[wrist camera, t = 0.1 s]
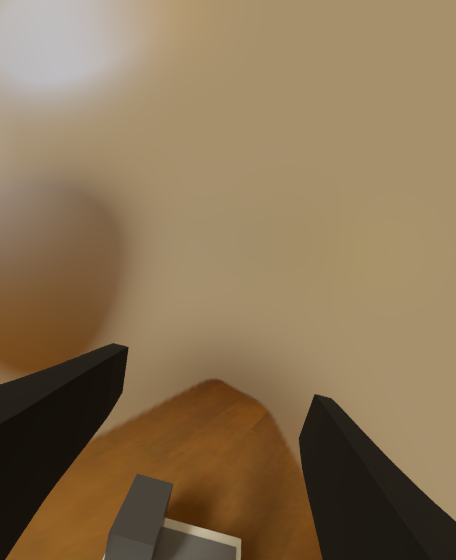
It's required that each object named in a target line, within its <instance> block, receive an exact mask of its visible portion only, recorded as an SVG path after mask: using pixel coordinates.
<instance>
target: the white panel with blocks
mask: <svg viewBox="0 0 456 560" xmlns="http://www.w3.org/2000/svg"><path fill="white" fill-rule="evenodd" d="M172 487H173V484H172V483H169V482H165V481H161V480H158V479H154V478H150V477H146V476H143V475H139V474H137V475H136V477H135V479H134V481H133V483H132V486H131V488H130V490H129V492H128V494H127V496H126V498H125V500H124V502H123V504H122V507H121V509H120V511H119V513H118V515H117V517H116V519H115V521H114V523H113V525H112V528H111V530H110V532H109V535H108V541H107V546H106V552H105V555H104V557H103V559H102V560H241V539H240V538H236V537H233V536H229V535H225V534H222V533H218V532H215V531H211V530H207V529H204V528H200V527H197V526H193V525H189V524H186V523H182V522H179V521H175V520H171V519H168V518H166V514H167V509H168V505H169V500H170V496H171V491H172Z"/></svg>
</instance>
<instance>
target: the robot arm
mask: <svg viewBox="0 0 456 560" xmlns="http://www.w3.org/2000/svg"><path fill="white" fill-rule="evenodd" d="M127 355H128V347H126V346H122V345H118V344H114V343H113V344H110V345H107V346H104V347H101V348H99V349H96V350H94V351H91V352H89V353H86V354H84V355H81V356H79V357H76V358H74V359H71V360H69V361H66V362H64V363H61V364H58V365H56V366H53V367H50V368H47V369H45V370H42V371H39V372H36V373H33V374H30V375H28V376H25V377H22V378H19V379H16V380H13V381H10V382H7V383H4V384H0V560H5V559H6V557H7V556H8V554H9V553H10V551H11V550H12V548H13V547H14V545H15V543H16V542H17V540H18V539H19V537H20V536H21V534H22V533H23V531H24V530H25V528H26V527H27V525H28V524H29V522H30V521H31V519H32V518H33V516H34V515H35V513H36V512H37V510H38V509H39V507H40V506H41V504H42V503H43V501H44V500H45V498H46V497H47V496H48V494H49V493H50V492H51V490H52V489H53V487H54V486H55V485H56V483H57V482H58V481H59V479H60V478H61V477H62V476H63V474H64V473H65V472H66V470H67V469H68V468H69V467H70V465H71V464H72V463H73V461H74V460H75V459H76V458H77V456H78V455H79V454H80V452H81V451H82V450H83V449H84V447H85V446H86V445H87V443H88V442H89V441H90V440H91V438H92V437H93V436H94V434H95V433H96V432H97V430H98V429H99V428H100V426H101V425H102V424H103V422H104V421H105V420H106V418H107V417H108V415H109V414H110V412H111V411H112V409H113V407H114V406H115V404H116V402H117V401H118V399H119V397H120V395H121V394H122V391H123V383H124V377H125V370H126V362H127ZM299 445H300V455H301V463H302V470H303V475H304V480H305V484H306V489H307V493H308V497H309V502H310V506H311V510H312V515H313V519H314V523H315V528H316V532H317V536H318V541H319V545H320V549H321V554H322V558H323V560H456V521H454V520H453V519H452V518H451V517H450V516H449V515H448V514H447V513H446V512H444V511H443V510H442V509H441V508H440V507H439V506H438V505H436V504H435V503H434V502H433V501H432V500H431V499H430V498H429V497H428V496H427V495H426V494H425V493H424V492H423V491H421V490H420V489H419V488H418V487H417V486H416V485H415V484H414V483H413V482H412V481H411V480H410V479H409V478H408V477H407V476H406V475H405V474H404V473H403V472H402V471H401V470H400V469H399V468H398V467H397V466H396V465H395V464H394V463H393V462H392V461H391V460H390V459H389V458H388V457H387V456H386V455H385V454H384V453H383V452H382V451H381V450H380V449H379V448H378V447H377V446H376V445H375V444H374V443H373V441H372V440H371V439H370V438H369V437H368V436H367V435H366V434H365V433H364V432H363V431H362V430H361V429H360V428H359V427H358V425H357V424H355V422H354V421H353V420H352V419H351V418H350V417H349V416H348V415H347V414H346V413H345V412H344V411H343V409H341V407H340V406H339V405H338V404H337V403H335V401H333V400H332V399H331V398H328V397H324V396H320V395H316V394H315V395H314V397H313V400H312V403H311V406H310V409H309V412H308V414H307V417H306V420H305V422H304V425H303V428H302V431H301V434H300V437H299Z"/></svg>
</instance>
